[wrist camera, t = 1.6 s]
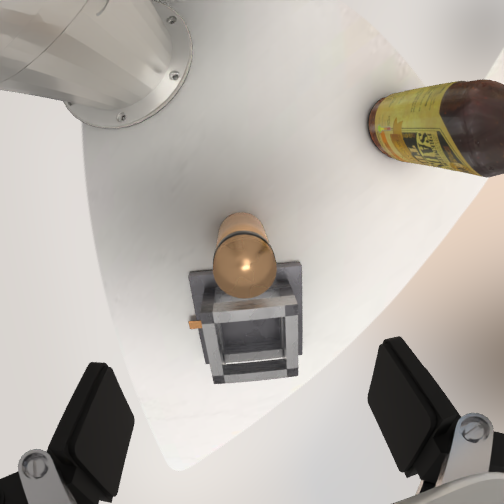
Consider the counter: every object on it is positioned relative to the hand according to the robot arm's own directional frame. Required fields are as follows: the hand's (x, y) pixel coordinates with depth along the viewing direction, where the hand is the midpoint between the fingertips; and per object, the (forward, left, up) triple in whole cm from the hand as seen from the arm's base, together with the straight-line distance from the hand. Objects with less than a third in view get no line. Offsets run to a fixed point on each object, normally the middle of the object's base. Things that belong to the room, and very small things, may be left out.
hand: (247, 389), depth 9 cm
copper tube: (0, 0, -18) cm, 18 cm away
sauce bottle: (-9, +15, -18) cm, 26 cm away
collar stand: (+8, 0, -18) cm, 20 cm away
